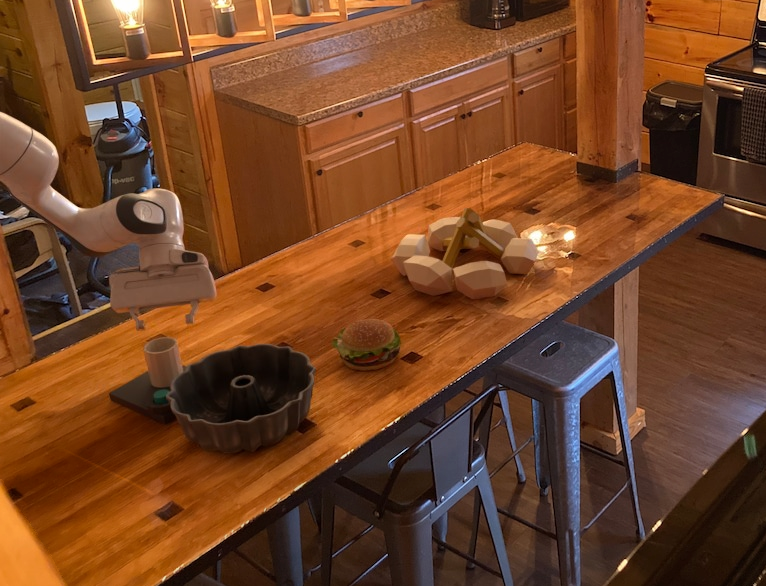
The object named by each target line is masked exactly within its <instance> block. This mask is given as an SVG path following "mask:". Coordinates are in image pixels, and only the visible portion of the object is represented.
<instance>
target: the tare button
mask: <svg viewBox="0 0 766 586" xmlns="http://www.w3.org/2000/svg"><path fill="white" fill-rule="evenodd" d="M168 393H169V391H168V390H159V391H157V392H155V393H154V400H155V403H156V404H163V403H166V402H168V400H167V399H166V395H167V394H168Z"/></svg>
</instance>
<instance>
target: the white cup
mask: <svg viewBox="0 0 766 586" xmlns="http://www.w3.org/2000/svg"><path fill="white" fill-rule="evenodd" d="M142 350H143V355H144V360H145V364H146V369H147V371H148V374H149V379H150V382H151V384H152V385H153V386H154V387H159V388H164V387H169V386H170V385H171V382H172V380H173V379H174V378H175V377H176V376H177V375H179V374H180V373H182V372H183V367H182V365H183V362H182V358H181V352H180V347H179V343H178V340H177V339H176V338H174V337H171V336H163V337H156V338H154V339H151V340H149V341H147V342H146V343H145V344H144V345H143V348H142Z"/></svg>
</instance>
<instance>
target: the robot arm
mask: <svg viewBox="0 0 766 586" xmlns="http://www.w3.org/2000/svg"><path fill="white" fill-rule="evenodd" d="M59 160H60V157H59V152H58V149H57V147H56V146H55V144H54V143H53V142H52V141H51V140H49V138H47V137H46V136H45V135H43V134H42V133H41V132H39V131H37V130H35V129H34V128H32V127H30V126H29V125H27V124H25V123H23V122H22V121H21V120H18V119H16V118H15V117H13V116H11V115H9V114H7V113H5V112H3V111H0V182H1V183H3V185H5V186H6V189H7V192H8V193H9V195H10V196H11V197H12V198H13V199H14V200H15V201H16V202H17V203H18V204H20V206H22V207H24V208H25V209H26V210H27V211H29V212H30V213H31V214H33V215H35V216H36V217H37V218H39V219H40V220H42V221H43V222H44V223H46V224H47V225H48V226H50V227H51V228H53V229H54V230H56V231H57V232H59V233H60V234H61V235H62V236H63V237H64V238H66V240H67V241H68V242H69V243H70V244H71V245H72V246H73V248H75V249H76V250H77V251H78V252H80V253H81V254H82V255H85V256H86V257H90V258H96V259H97V258H103V257H106V256H108V255H110V254H111V253H112V252H115V251H116V250H118V249H120V248H123V247H124V246H127V245H129V244H132V243H134V244H137V245H138V246H139V249H138V252H139V253H138V255H139V266H131V267H126V268H125V267H124V268H123V267H120V268H117V269H116V270H115V271H113V272H112V273H111V274H110V275H109V277H108V284H109V287H110V296H109V305H110V308H111V310H113V311H114V312H115V313H117V314H123V313H129V315H130V317H131V318H132V319H133V320H134V322H135V330H136V331H137V332H142V331H146V321H145V320H144V319H141V320H140V319H139V318H138V316H140V311H146V310H154V309H162V308H170V307H178V306H179V307H180V306H187V305H190V307H191V309H190V312H189V313H188V314H185V315H184V318H185V324H186V325H194V324H195V317H196V314H197V313H198V311H199V309H200V304H201V303H210V302H211V303H212V302H214V301H215V300H216V298H218V297H217V296H218V294H217V286H216V283H215V278H214V276H213V274H212V271H211V270H210V268H209V261H208V259H207V257H206V256H205V255H204V254H203V253H201V252H198V251H197V252H196V251H191V250H186V247H185V244H184V241H183V235H184V232H185V229H184V215H183V208H182V205H181V202H180V199H179V197H178V195H177V194H176V193H174V192H172V191H170V190H169V189H165V188H160V187H159V188H156V187H155V188H148V189H146V190H144V191H143V192H140V193H133V192H130V193H125V194H122V195H119V196H117V197H115V198H112V199H110V200H108V201H106V202H104V203H101V204H99V205H97V206H95V207H90V208H88V207H87V208H84V207H78V206H77V205H76V204H74V203H73V202H72V201H70V200H69V199H67V198H66V197H65V196H63V195H62V194H61V193H59V192H58V191H57V190H55V189H54V188H53V187H52V186H51V184H52V183H53V181H54V179H55V176H56V174H57V172H58V169H59V165H60V161H59Z"/></svg>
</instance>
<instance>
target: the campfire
mask: <svg viewBox="0 0 766 586" xmlns="http://www.w3.org/2000/svg"><path fill="white" fill-rule="evenodd" d="M515 231H516V230H515V229H514V227H513V225H512V223H511V222H508V221H504V220H500V219H499V220H498V219H496V218H493V219H488V220H484V221H483V220H482V218H481V216H480V214H478V213H477V212H476V211H475V210H474V209H472V208H468V207H464V209H463V211H462V214H461V215H460V216H452V217H443V218H440V219H438V220H436V221H435V222H433V223H431V224H429V225H428V230H427V236H426V234H416V233H415V234H414V233H408V234H407V235H405V236H404V237H403V238H402V239H401V241H400V243H399V244H398V246H397V247H396V249H395V250H394V253H393V254H392V256H391V258H390V261H391V262H392V263H393V265H394V266H395V268H396V269H397V271H398V272H399V273H400V274H401V275H402V276H403V277H407V279H408V282H410V284H411V285H412V287H413V288H414V290H415V292H416V291H417V292H419V293H423V294H426V295H429V296H432V297H435V296H439V295H443V294H446V293H447V294H448V293H450V292H452V291H453V288H452V287H453V285H452V283H453V276H454V282H455V287H456V290H457V291H458V292H459V293H461V294H463V295H464V296H466V297H468V298H469V299H471V300H472V301H473V300H479V299H486V298H493V297H496V295H498V294H499V293H500V292H501V291H503V290H504V289H505V288H506V287H507V286H508V280H507V278H506V274H505V270H504V269H503V267H502V266H501V264H500V263H498V262H494V261H489V260H480V261H473V262H468V263H465V264H463V265H459V266H456V267H454V265H455V262H456V260H457V257H458V255H459V253H460V251H461V250H466V249H467V250H468V249H470V250H473V249H474V250H475V249H476V248H478V247H480V248H482V249H483V251H486V252H487V251H488V252H487V253H490V254H491V255H492V256H494V257H495V258H496V259H498V260H499V261H501V263H502V265H503V266H504V267H505V269H506V270H507V272H508V274H511V275H528V274H529V272H530V270H531V269H532V268H533V266H534V264H536V261H537V257H538V256H539V250H538V248H537V247H536V244H535V243H534V241H533V239H532V238H523V237H522V238H521V237H518V235H517V234H516V232H515ZM430 248H431V249H435V250H436V251H439V252H442V251H446V252H444V256H443V258H442V260H441V259H440V258H436V257H433V256H430V253H431V249H430ZM485 297H486V298H485Z"/></svg>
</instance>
